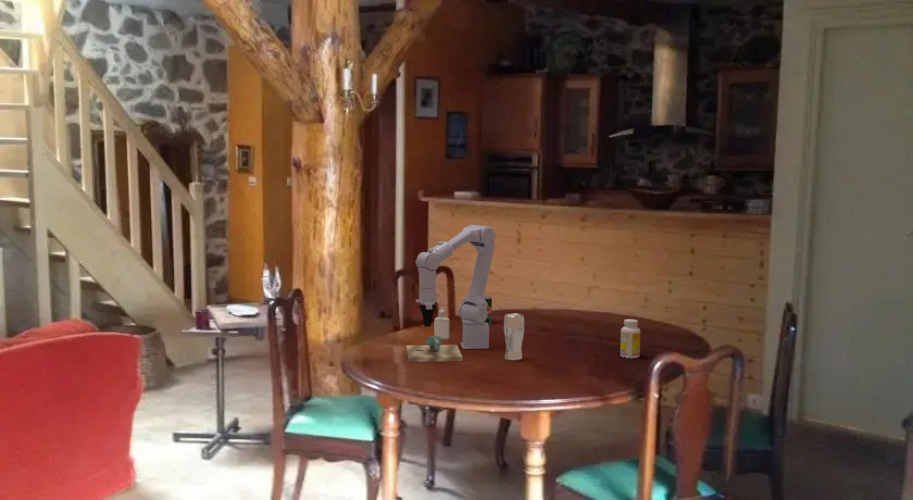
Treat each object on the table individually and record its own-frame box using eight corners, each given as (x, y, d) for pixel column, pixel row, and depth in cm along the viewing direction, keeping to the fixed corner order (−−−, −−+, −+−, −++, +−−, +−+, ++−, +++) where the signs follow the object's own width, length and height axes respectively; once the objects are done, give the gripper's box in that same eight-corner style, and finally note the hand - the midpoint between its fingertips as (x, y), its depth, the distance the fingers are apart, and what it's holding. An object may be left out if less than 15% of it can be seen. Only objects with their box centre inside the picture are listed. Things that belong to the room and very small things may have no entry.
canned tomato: (473, 320, 363) (474, 294, 362) (492, 321, 362) (492, 295, 361) (471, 324, 355) (471, 298, 354) (490, 325, 354) (491, 298, 353)
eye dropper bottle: (444, 340, 326) (444, 309, 324) (432, 338, 329) (432, 307, 328) (451, 338, 329) (451, 307, 328) (439, 336, 332) (439, 305, 331)
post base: (456, 348, 313) (456, 339, 312) (462, 361, 295) (462, 351, 294) (406, 349, 311) (406, 339, 310) (408, 361, 293) (409, 351, 293)
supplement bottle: (640, 355, 306) (642, 319, 304) (638, 359, 300) (639, 322, 298) (621, 353, 308) (622, 317, 307) (618, 357, 302) (619, 321, 300)
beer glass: (509, 361, 295) (510, 317, 293) (499, 357, 301) (500, 314, 299) (527, 359, 298) (528, 316, 296) (516, 355, 304) (517, 312, 303)
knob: (425, 343, 304) (425, 335, 304) (439, 342, 305) (439, 335, 305) (430, 350, 294) (430, 342, 293) (445, 349, 295) (445, 342, 294)
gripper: (414, 284, 306) (414, 322, 308) (417, 291, 292) (417, 330, 294) (434, 283, 307) (434, 321, 309) (438, 290, 293) (438, 330, 294)
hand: (427, 326), depth 301 cm, fingers closed
